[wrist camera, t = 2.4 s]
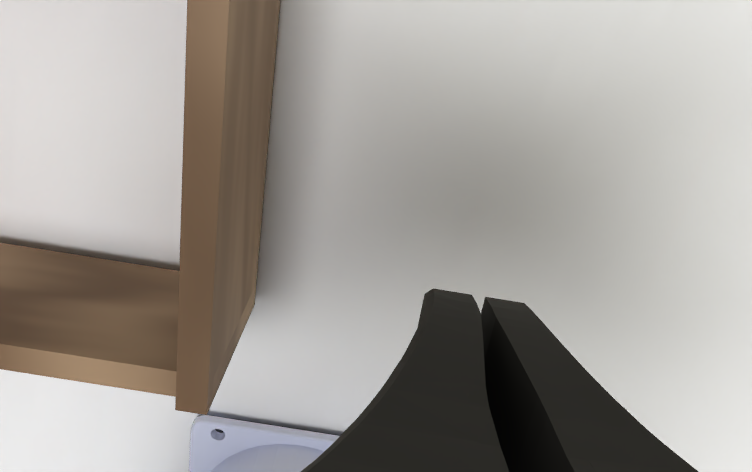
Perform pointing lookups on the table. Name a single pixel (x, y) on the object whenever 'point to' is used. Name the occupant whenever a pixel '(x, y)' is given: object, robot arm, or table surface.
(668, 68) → the table surface
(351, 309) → the table surface
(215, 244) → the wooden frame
